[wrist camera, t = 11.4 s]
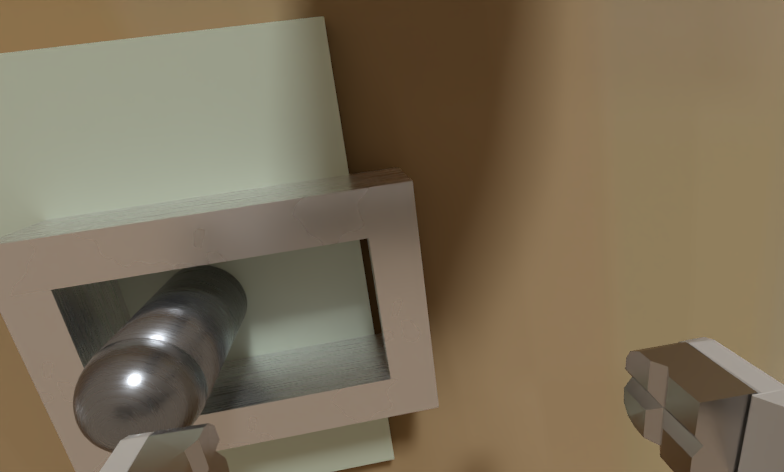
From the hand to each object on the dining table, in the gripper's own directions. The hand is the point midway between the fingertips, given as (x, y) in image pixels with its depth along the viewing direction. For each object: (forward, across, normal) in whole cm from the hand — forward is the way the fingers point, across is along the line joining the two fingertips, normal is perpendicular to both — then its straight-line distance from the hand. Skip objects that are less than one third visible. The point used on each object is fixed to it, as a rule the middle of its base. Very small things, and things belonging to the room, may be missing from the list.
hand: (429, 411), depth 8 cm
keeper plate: (+9, +7, 0) cm, 11 cm away
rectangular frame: (+8, +5, 0) cm, 10 cm away
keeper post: (+8, +7, 0) cm, 11 cm away
